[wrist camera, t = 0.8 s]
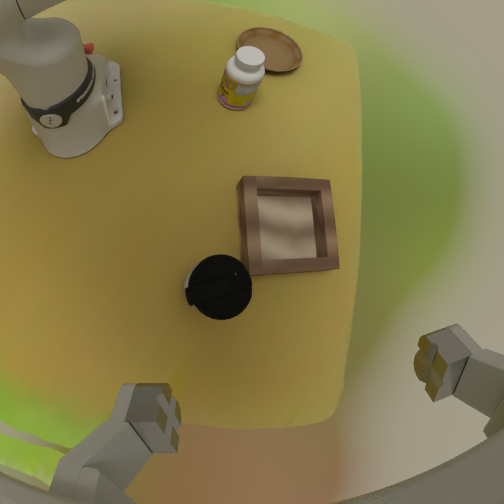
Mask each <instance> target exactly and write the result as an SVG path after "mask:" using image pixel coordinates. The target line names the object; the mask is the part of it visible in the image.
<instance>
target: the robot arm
mask: <svg viewBox="0 0 504 504" xmlns="http://www.w3.org/2000/svg"><path fill="white" fill-rule="evenodd" d="M63 1H66V0H0V73H1V74H2V75H4V76H5V77H6V78H7V79H8V80H9V81H10V83H11V84H12V85H13V86H14V88H15V89H16V90H17V92H18V93H19V95H20V96H21V101H22V104H23V106H24V109H25V110H26V112H27V115H28V117H29V119H30V121H31V123H32V124H33V126H32V131H33V133H34V135H36V136H37V137H39V138H40V139H41V140H42V142H43V144H44V147H45V148H46V150H47V151H48V152H49V153H51V154H52V155H54V156H57V157H61V158H71V157H75V156H79V155H81V154H84V153H86V152H87V151H89V150H91V149H92V148H93V147H95V146H96V145H97V144H98V143H99V142H100V141H101V140H102V139H103V137H104V136H105V135H106V134H107V133H108V132H109V131H110V130H111V129H113V128H115V127H116V126H118V125H119V124H120V123H122V121H123V119H124V116H123V104H122V91H121V73H120V66H119V64H118V63H116V62H113V61H107V59H106V58H105V57H104V56H102V55H98V54H92V53H93V48H94V47H93V43H89V44H86V45H84V44H82V40H81V36H80V32H79V30H78V28H77V27H76V26H75V25H74V24H73V23H71V22H69V21H67V20H65V19H62V18H56V17H54V18H31V17H32V16H34V15H36V14H38V13H40V12H42V11H44V10H46V9H48V8H50V7H52V6H55V5H57V4H59V3H61V2H63ZM116 112H118V113H117V114H115V113H116ZM418 346H419V348H420V350H419V351H418V352H417V353H416V355H415V358H414V370H415V373H416V375H417V377H418V379H419V380H420V381H422V382H424V383H426V386H425V390H426V391H427V393H428V395H429V396H430V398H431V400H432V401H433V402H436V401H438V400H441V399H443V398H445V397H448V396H450V395H453V396H454V397H456V398H458V399H459V400H461V401H463V402H464V403H466V404H468V405H469V406H471V407H473V408H474V409H476V410H478V411H479V412H481V413H483V414H485V415H486V416H488V417H490V418H491V419H490V420H489V422H488V423H487V425H486V426H485V428H484V433H485V434H486V436H487V438H488V439H486V440H485V441H483V442H481V443H480V444H478V445H476V446H474V447H473V448H471V449H469V450H468V451H466V452H464V453H462V454H460V455H458V456H456V457H455V458H453V459H451V460H449V461H447V462H445V463H443V464H441V465H439V466H437V467H435V468H432V469H430V470H428V471H426V472H423V473H421V474H419V475H417V476H414V477H412V478H409V479H407V480H404V481H402V482H399V483H397V484H394V485H391V486H388V487H385V488H383V489H380V490H377V491H374V492H370V493H367V494H364V495H361V496H357V497H354V498H350V499H346V500H342V501H339V502H334V503H331V504H504V355H502V354H499V353H496V352H494V351H491V350H488V349H484V350H482V348H481V347H480V346H479V345H478V344H477V343H476V342H475V341H474V340H473V339H472V338H471V336H470V335H469V334H468V333H467V332H466V331H465V330H464V329H463V328H462V327H461V326H460V325H459V324H454V325H451V326H448V327H445V328H442V329H440V330H437V331H434V332H431V333H428V334H426V335H423V336H421V337H420V339H419V341H418ZM171 394H172V389H171V387H170V385H169V384H168V383H138V384H129V383H124V384H123V385H122V386H121V388H120V391H119V393H118V396H117V399H116V402H115V405H114V408H113V411H112V414H111V417H110V420H109V421H105V422H104V423H102V424H101V425H100V426H99V427H98V428H97V429H95V430H94V431H93V432H92V433H91V434H90V435H88V436H87V437H86V438H85V439H84V440H83V441H81V442H80V443H79V444H78V445H77V446H75V447H74V448H73V449H72V450H71V451H70V452H68V453H67V454H66V455H65V456H63V457H62V458H61V459H60V460H59V462H58V465H57V468H56V471H55V474H54V477H53V480H52V483H51V486H50V489H49V491H47V490H44V489H41V488H38V487H35V486H33V485H30V484H28V483H25V482H23V481H20V480H18V479H15V478H13V477H11V476H8V475H6V474H4V473H2V472H0V504H136V502H135V501H134V499H132V498H131V497H130V496H128V495H127V494H126V493H125V492H123V491H124V490H125V489H126V488H127V486H128V485H129V484H130V483H131V481H132V480H133V479H134V478H135V476H136V475H137V474H138V472H139V471H140V470H141V469H142V468H143V466H144V465H145V464H146V463H147V461H148V460H149V459H150V458H151V456H152V455H153V454H152V453H177V450H178V442H179V436H178V434H177V432H176V430H177V429H178V428H179V427H180V426H181V410H180V406H179V403H178V401H177V399H175V398H174V397H172V396H171Z"/></svg>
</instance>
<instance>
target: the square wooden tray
mask: <svg viewBox="0 0 504 504" xmlns="http://www.w3.org/2000/svg"><path fill="white" fill-rule="evenodd" d="M237 203H238V220H239V237H240V253H241V262H242V264H243V265H244V267H245V268H246V270H247V271H248V272H249V275H250V276H252V275H268V274H284V273H299V272H313V271H326V270H333V269H340V268H339V256H338V245H337V235H336V226H335V217H334V209H333V201H332V193H331V186H330V180H324V179H309V178H291V177H268V176H243V177H242V178H241V180H240V181H239V183H238V185H237Z"/></svg>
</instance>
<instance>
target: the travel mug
mask: <svg viewBox="0 0 504 504" xmlns="http://www.w3.org/2000/svg"><path fill="white" fill-rule="evenodd" d="M251 287H252V281H251V277H250V275H249V272H248V271H247V270H246V268H245V267H244V265H243V264H242V262H240V261H239V260H237V259H236V258H234V257H232V256H228V255H213V256H210V257H207V258H206V259H204V260H202V261H201V262H200V263H198V264H197V265H196V266H195V267H194V268H193V269H192V271H191V272H190V273H189V274H188V275H187V277H186V278H185V281H184V285H183V290H184V294H185V296H186V298H187V301H188V303H189V305H190V306H192V305H193V306H194V307H195V308H196V309H197V310H198V311H200V312H201V313H203V314H204V315H206V316H207V317H210V318H212V319H217V320H226V319H230V318H233V317H235V316H237V315H239V314H240V313H241V312H242V311H243V310H244V309H245V308H246V307H247V305H248V304H249V302H250V299H251V297H252V288H251Z"/></svg>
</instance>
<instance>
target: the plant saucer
mask: <svg viewBox="0 0 504 504" xmlns="http://www.w3.org/2000/svg"><path fill="white" fill-rule="evenodd" d="M237 46H238V49H239V48H241V47H244V46H252V47H256V48H258V49H259V50H261V51H262V52H263V54H264V56H265V60H264V63H263V65H264V68H265V70H268V71H274V72H283V71H289V70H292V69H295V68H296V67H298V66H299V65H300V64H301V62H302V58H303V55H302V51H301V49H300V47H299V46H298V44H297V43H296V42H295V41H294V40H293V39H292V38H290V37H289V36H288V35H286V34H284V33H282V32H280V31H277V30H274V29H270V28H264V27H256V28H251V29H248V30H245V31H244V32H242V33H241V34H240V35H239V37H238V39H237Z"/></svg>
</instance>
